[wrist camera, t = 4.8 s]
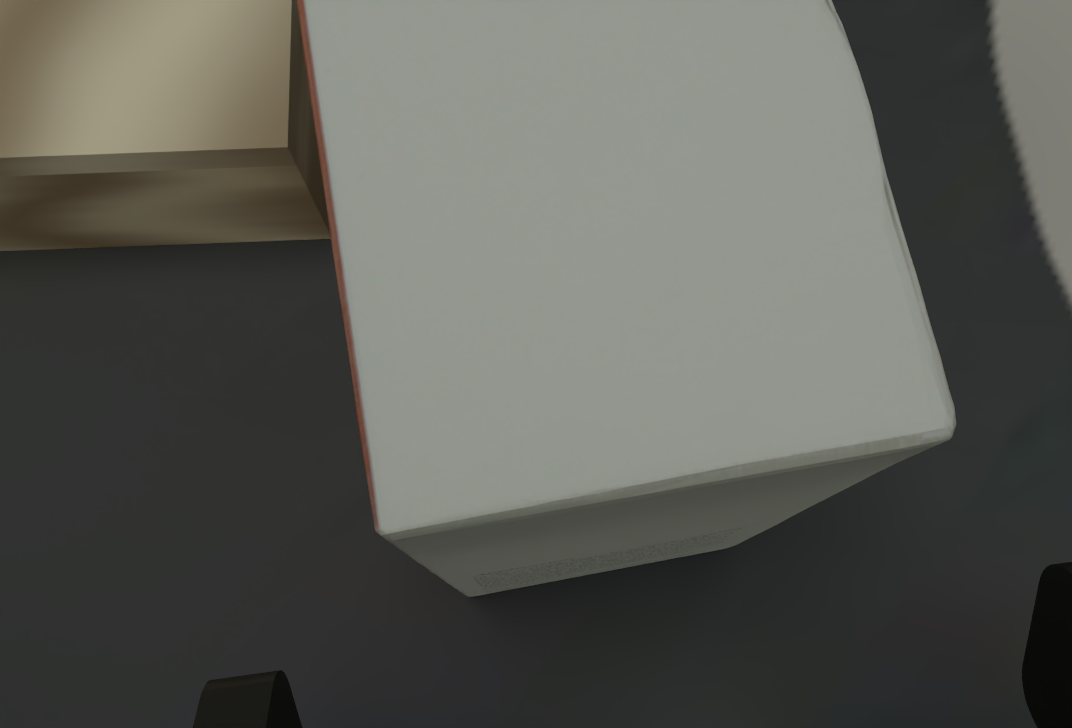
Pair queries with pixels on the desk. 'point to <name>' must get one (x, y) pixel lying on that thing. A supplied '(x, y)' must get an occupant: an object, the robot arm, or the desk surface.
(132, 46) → the birch riser
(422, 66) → the small box
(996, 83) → the desk surface
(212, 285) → the desk surface
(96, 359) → the desk surface
